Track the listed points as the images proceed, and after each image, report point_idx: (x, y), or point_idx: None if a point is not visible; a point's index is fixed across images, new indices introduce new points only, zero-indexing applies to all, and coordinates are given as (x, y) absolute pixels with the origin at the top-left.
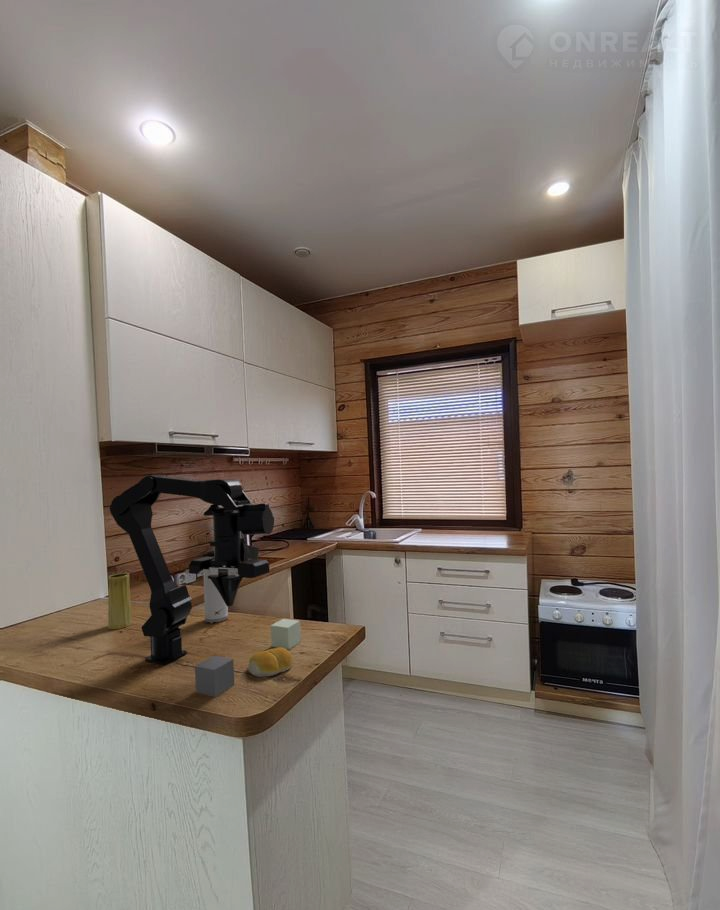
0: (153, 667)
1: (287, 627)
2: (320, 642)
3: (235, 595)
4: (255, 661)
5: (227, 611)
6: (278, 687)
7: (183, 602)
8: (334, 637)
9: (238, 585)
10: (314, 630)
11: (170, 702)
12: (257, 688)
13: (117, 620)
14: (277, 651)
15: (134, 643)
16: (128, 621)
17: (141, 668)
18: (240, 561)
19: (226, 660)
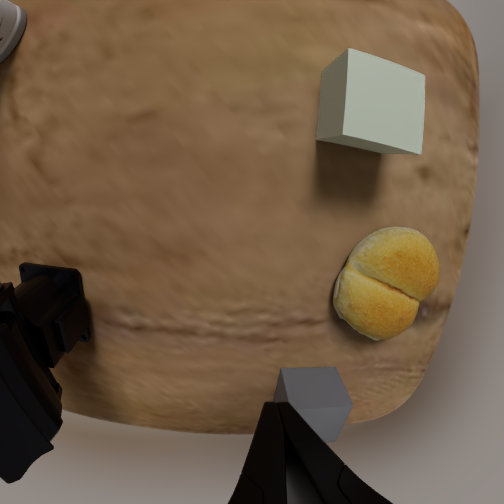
0: (81, 349)
1: (418, 151)
2: (437, 97)
3: (322, 442)
4: (376, 337)
5: (15, 8)
6: (421, 341)
7: (15, 408)
8: (449, 63)
9: (369, 491)
10: (376, 8)
11: (251, 432)
12: (387, 359)
13: None
14: (421, 290)
15: None
16: None
17: (65, 356)
18: None
19: (339, 413)
